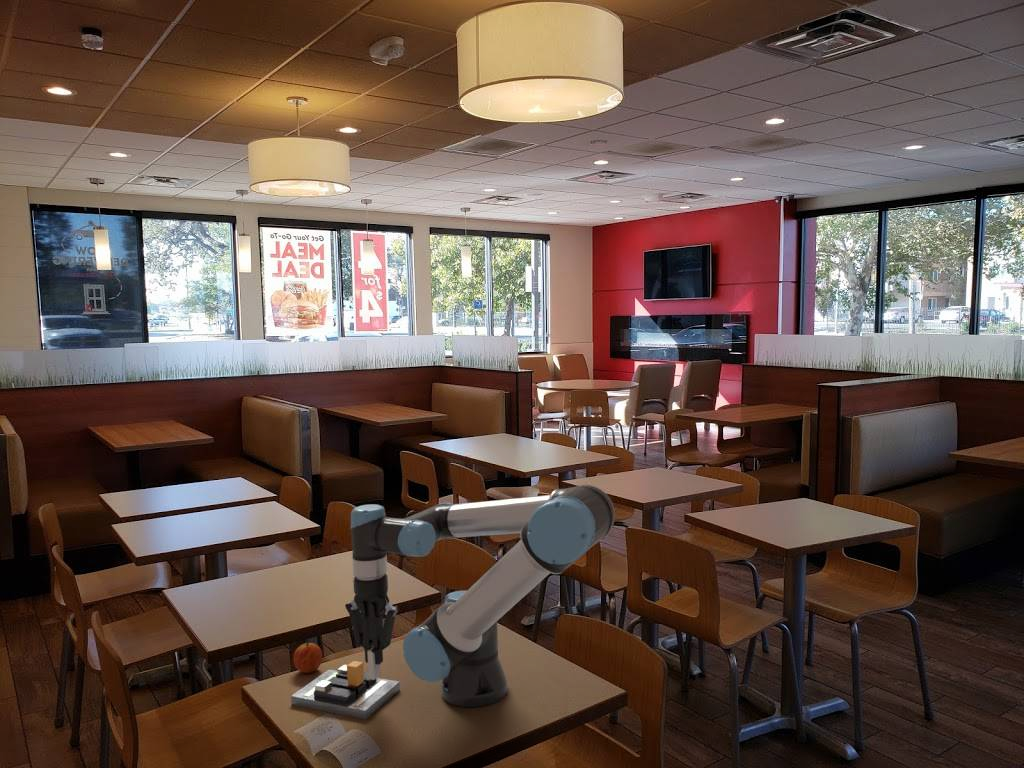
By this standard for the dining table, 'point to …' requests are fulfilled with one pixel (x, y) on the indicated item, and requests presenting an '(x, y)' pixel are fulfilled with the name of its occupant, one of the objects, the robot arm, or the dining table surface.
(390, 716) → the dining table surface
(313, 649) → the fruit
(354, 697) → the panel
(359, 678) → the block
